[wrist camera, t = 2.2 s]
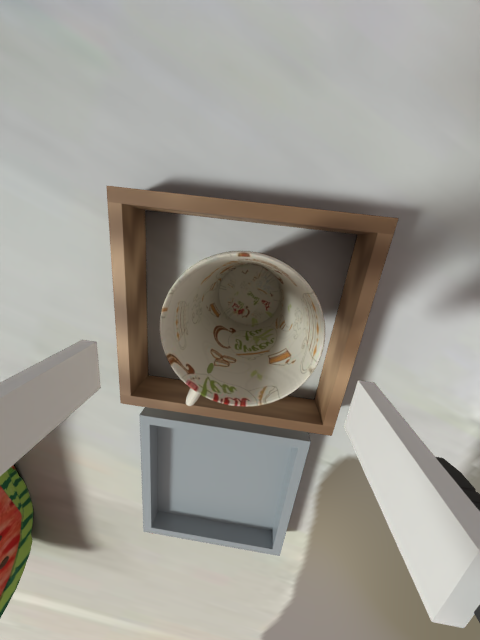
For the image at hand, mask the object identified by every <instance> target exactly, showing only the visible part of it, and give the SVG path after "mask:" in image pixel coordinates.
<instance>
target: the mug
mask: <svg viewBox="0 0 480 640" xmlns="http://www.w3.org/2000/svg"><path fill="white" fill-rule="evenodd" d="M160 337H161V343H162V347H163V350H164V353H165V355H166V357H167V360H168V362H169V363H170V365H171V367H172V368H173V370H174V371H175V373H176V374H177V375H178V376H179V377H180V379H181V380H182V381H183V382H184V383H185V384H187V385H188V386H189V387H190V390H189V392H188V395H187V397H186V404H187V405H188V406H192V405H193V404H194V403H195V402H196V401H197V400H198V398H199V397H200V395H202V396H204V397H206V398H208V399H210V400H213V401H216V402H219V403H222V404H226V405H232V406H244V407H247V406H259V405H264V404H268V403H271V402H274V401H277V400H279V399H282V398H284V397H285V396H287V395H289V394H291V393H292V392H294V391H295V390H296V389H298V388H299V387H300V386H301V385H302V384H303V383H304V382H305V381H306V380H307V379H308V378H309V377H310V375H311V374H312V372H313V371H314V369H315V368H316V366H317V364H318V362H319V360H320V357H321V354H322V351H323V347H324V342H325V321H324V316H323V312H322V308H321V305H320V303H319V300H318V298H317V296H316V294H315V293H314V291H313V289H312V288H311V287H310V285H309V284H308V283H307V282H306V280H305V279H304V278H303V277H302V276H301V275H300V274H299V273H298V272H297V271H295V270H294V269H293V268H291V267H290V266H289V265H287V264H285V263H284V262H282V261H280V260H278V259H276V258H274V257H271V256H268V255H265V254H262V253H257V252H250V251H230V252H224V253H220V254H216V255H213V256H210V257H208V258H205V259H203V260H201V261H199V262H198V263H196V264H194V265H193V266H191V267H190V268H189V269H187V270H186V271H185V272H184V273H183V274H182V275H181V276H180V277H179V278H178V279H177V280H176V282H175V283H174V284H173V286H172V287H171V289H170V291H169V292H168V295H167V297H166V299H165V301H164V304H163V307H162V311H161V316H160Z"/></svg>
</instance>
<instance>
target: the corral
mask: <svg viewBox="0 0 480 640" xmlns="http://www.w3.org/2000/svg"><path fill="white" fill-rule="evenodd" d="M107 200H108V216H109V231H110V246H111V262H112V277H113V292H114V308H115V323H116V338H117V354H118V369H119V384H120V400H121V403H123V404H129V405H136V406H142V407H149V408H155V409H161V410H168V411H174V412H181V413H187V414H194V415H200V416H207V417H213V418H220V419H226V420H233V421H239V422H246V423H252V424H258V425H265V426H271V427H278V428H284V429H291V430H297V431H304V432H310V433H317V434H323V435H330V436H332V433H333V430H334V427H335V423H336V420H337V417H338V414H339V410H340V407H341V404H342V401H343V397H344V394H345V391H346V388H347V384H348V381H349V378H350V375H351V371H352V368H353V365H354V362H355V358H356V355H357V352H358V349H359V345H360V342H361V339H362V336H363V332H364V329H365V326H366V323H367V319H368V316H369V313H370V309H371V306H372V303H373V300H374V296H375V293H376V290H377V287H378V283H379V280H380V277H381V274H382V270H383V267H384V264H385V261H386V257H387V254H388V251H389V248H390V244H391V241H392V238H393V235H394V231H395V228H396V225H397V222H398V218H391V217H382V216H373V215H364V214H355V213H346V212H337V211H328V210H319V209H310V208H302V207H293V206H284V205H275V204H266V203H257V202H248V201H239V200H230V199H221V198H212V197H203V196H194V195H185V194H176V193H167V192H158V191H149V190H140V189H131V188H122V187H113V186H107ZM145 210H150V211H159V212H168V213H176V214H185V215H194V216H202V217H211V218H220V219H228V220H237V221H245V222H254V223H263V224H271V225H280V226H289V227H297V228H306V229H315V230H323V231H332V232H341V233H349V234H357V238H356V242H355V246H354V250H353V254H352V257H351V261H350V265H349V269H348V273H347V277H346V280H345V284H344V288H343V292H342V296H341V300H340V304H339V307H338V311H337V315H336V319H335V323H334V327H333V330H332V334H331V338H330V342H329V346H328V350H327V354H326V357H325V361H324V365H323V369H322V373H321V377H320V381H319V384H318V388H317V392H316V396H315V400H312V399H305V398H298V397H292V396H285V397H284V398H282V399H279V400H277V401H274V402H271V403H268V404H264V405H259V406H247V407H244V406H232V405H226V404H222V403H219V402H216V401H213V400H210V399H208V398H206V397H204V396H202V395H200V397H199V398H198V400H197V401H196V402H195V403H194V404H193V405H192V406H188V405H187V404H186V397H187V395H188V392H189V390H190V387H189V386H188V385H187V384H185V383H184V382H183V381H182V380H177V379H170V378H164V377H157V376H150V375H148V340H147V285H146V230H145Z"/></svg>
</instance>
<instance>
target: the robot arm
mask: <svg viewBox="0 0 480 640" xmlns="http://www.w3.org/2000/svg"><path fill="white" fill-rule="evenodd" d="M100 388H101V387H100V375H99V364H98V352H97V342H94V341H87V340H81V341H79V342H77V343H75V344H73V345H71V346H69V347H68V348H66V349H64V350H62V351H60V352H58V353H56V354H54V355H52V356H50V357H48V358H46V359H45V360H43V361H41V362H39V363H37V364H35V365H33V366H31V367H29V368H27V369H25V370H24V371H22V372H20V373H18V374H16V375H14V376H12V377H10V378H8V379H6V380H4V381H2V382H1V383H0V476H1V475H2V474H3V473H5V472H6V471H7V470H8V469H9V468H10V467H11V466H12V465H14V464H15V463H16V462H17V461H18V460H19V459H20V458H22V457H23V456H24V455H25V454H26V453H27V452H28V451H30V450H31V449H32V448H33V447H34V446H35V445H36V444H37V443H39V442H40V441H41V440H42V439H43V438H44V437H45V436H47V435H48V434H49V433H50V432H51V431H52V430H53V429H55V428H56V427H57V426H58V425H59V424H60V423H61V422H63V421H64V420H65V419H66V418H67V417H68V416H69V415H70V414H72V413H73V412H74V411H75V410H76V409H77V408H78V407H80V406H81V405H82V404H83V403H84V402H85V401H86V400H88V399H89V398H90V397H91V396H92V395H93V394H94V393H95V392H97V391H98V390H99V389H100ZM344 428H345V430H346V432H347V435H348V437H349V439H350V441H351V443H352V446H353V448H354V450H355V452H356V455H357V457H358V459H359V461H360V463H361V465H362V468H363V470H364V472H365V475H366V477H367V479H368V481H369V483H370V486H371V488H372V490H373V492H374V494H375V497H376V499H377V501H378V503H379V505H380V508H381V510H382V512H383V515H384V516H385V519H386V521H387V523H388V526H389V528H390V530H391V532H392V535H393V537H394V539H395V541H396V543H397V546H398V548H399V550H400V552H401V555H402V557H403V559H404V561H405V563H406V566H407V568H408V570H409V572H410V575H411V577H412V579H413V581H414V583H415V586H416V588H417V590H418V592H419V594H420V597H421V599H422V601H423V603H424V605H425V608H426V610H427V612H428V614H429V617H430V619H431V621H432V622H435V623H441V624H445V625H451V626H456V627H461V628H464V627H465V626H466V625H467V623H468V622H469V621H470V619H471V618H472V617H473V615H474V614H475V615H476V617H477V619H478V621H479V622H480V494H479V493H478V492H476V491H475V488H474V487H473V486H472V485H471V484H470V483H469V481H468V480H467V479H466V478H465V477H464V476H463V474H462V473H461V472H459V471H458V470H457V469H456V468H455V467H453V466H452V465H451V464H450V463H448V462H447V461H446V460H445V459H443V458H439V457H435V456H434V455H433V454H432V453H431V451H430V450H429V449H428V448H427V446H426V445H425V444H424V443H423V441H422V440H421V439H420V438H419V437H418V435H417V434H416V433H415V432H414V430H413V429H412V428H411V427H410V426H409V424H408V423H407V422H406V421H405V419H404V418H403V417H402V416H401V415H400V413H399V412H398V411H397V410H396V408H395V407H394V406H393V405H392V404H391V402H390V401H389V400H388V399H387V397H386V396H385V395H384V394H383V393H382V391H381V390H380V389H379V388H378V386H377V385H376V384H375V383H374V382H367V381H360V380H358V382H357V386H356V389H355V392H354V395H353V398H352V402H351V405H350V408H349V411H348V414H347V418H346V421H345V424H344Z"/></svg>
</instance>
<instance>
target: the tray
mask: <svg viewBox="0 0 480 640" xmlns="http://www.w3.org/2000/svg"><path fill="white" fill-rule="evenodd" d="M140 441H141V470H142V500H143V529H144V532H149V533H155V534H160V535H166V536H171V537H177V538H182V539H188V540H194V541H199V542H205V543H210V544H216V545H221V546H227V547H233V548H238V549H244V550H249V551H255V552H260V553H266V554H272V555H277V556H280V553H281V549H282V545H283V542H284V538H285V534H286V531H287V527H288V523H289V520H290V516H291V512H292V509H293V505H294V501H295V498H296V494H297V490H298V487H299V483H300V479H301V476H302V472H303V468H304V465H305V461H306V457H307V454H308V450H309V446H310V443H311V441H310V437H309V433H308V432H304V431H297V430H291V429H284V428H278V427H271V426H265V425H258V424H252V423H246V422H239V421H233V420H226V419H220V418H213V417H207V416H200V415H194V414H187V413H181V412H174V411H168V410H161V409H155V408H149V407H145V408H144V409H143V411H142V412H141V414H140Z"/></svg>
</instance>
